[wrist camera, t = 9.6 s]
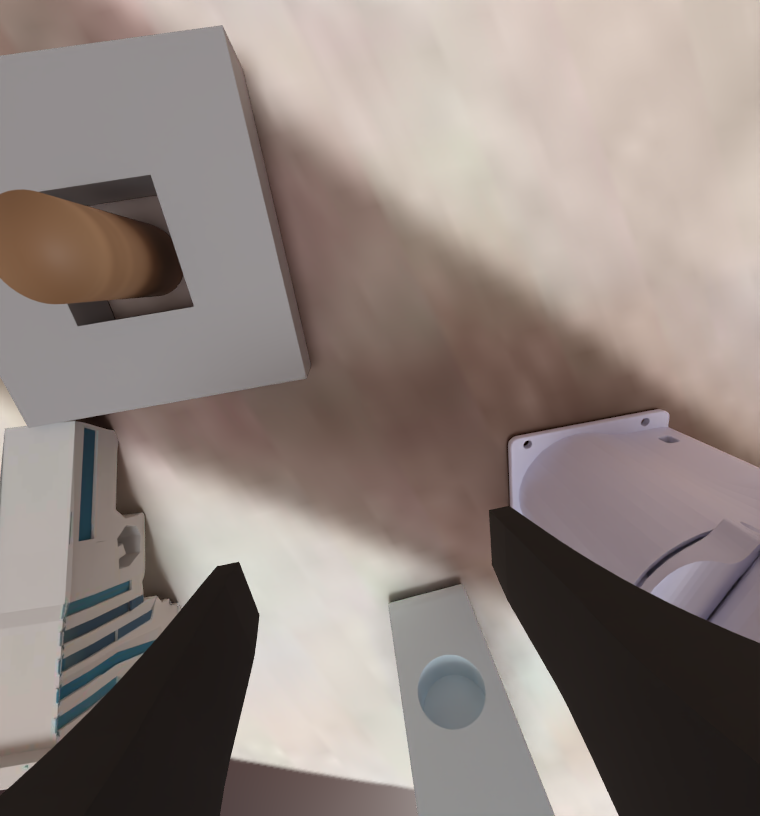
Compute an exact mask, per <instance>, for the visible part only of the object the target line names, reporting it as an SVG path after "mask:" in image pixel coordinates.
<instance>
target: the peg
mask: <svg viewBox="0 0 760 816" xmlns="http://www.w3.org/2000/svg"><path fill="white" fill-rule="evenodd" d="M182 276H183V272H182V268H181V265H180V262H179V259H178V256H177V253H176V250H175V247H174V244H173V241H172V238H171V237H170V236H169V235H168V234H167V233H165V232H164V231H163V230H161V229H159V228H158V227H155V226H153V225H150V224H147V223H143V222H140V221H136V220H133V219H129V218H126V217H123V216H119V215H116V214H112V213H109V212H105V211H102V210H99V209H95V208H92V207H88V206H85V205H82V204H78V203H75V202H71V201H68V200H64V199H61V198H58V197H54V196H51V195H47V194H44V193H40V192H36V191H32V190H25V189H22V190H11V191H7V192H4V193H1V194H0V278H1V279H2V280H3V281H4V282H5V283H6V284H7V285H8V286H9V287H10V288H12V289H13V290H15V291H16V292H18V293H19V294H21V295H23V296H25V297H27V298H29V299H32V300H34V301H37V302H41V303H46V304H69V303H81V302H93V301H105V300H117V299H128V298H140V297H152V296H161V295H165V294H167V293H170V292H171V291H173V290H174V289H175V288H176V287H177V286H178V284H179V283H180V281H181V279H182Z"/></svg>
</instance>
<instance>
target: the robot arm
mask: <svg viewBox="0 0 760 816" xmlns="http://www.w3.org/2000/svg"><path fill="white" fill-rule="evenodd" d="M643 419H644V421H643V422H642V423H641V421H642V420H643ZM668 423H669V413H668V412H667V411H664V410H662V409H656V410H650V411H645V412H640V413H635V414H629V415H624V416H619V417H613V418H608V419H603V420H598V421H592V422H587V423H582V424H577V425H571V426H566V427H561V428H555V429H550V430H545V431H540V432H534V433H529V434H524V435H519V436H515V437H513V438H511V439H510V441H509V443H508V458H509V488H510V506H507V507H502V508H498V509H493V510H489V517H490V535H491V553H492V566H493V568H494V570H495V573H496V575H497V577H498V580H499V582H500V584H501V587H502V589H503V591H504V593H505V595H506V598H507V600H508V602H509V603H510V605H511V607H512V609H513V611H514V612H515V614H516V616H517V618H518V619H519V621H520V623H521V625H522V626H523V628H524V630H525V631H526V633H527V635H528V637H529V638H530V640H531V642H532V644H533V645H534V647H535V649H536V650H537V652H538V654H539V656H540V657H541V659H542V661H543V663H544V664H545V666H546V668H547V670H548V671H549V673H550V675H551V676H552V678H553V680H554V682H555V683H556V685H557V687H558V689H559V691H560V693H561V695H562V696H563V698H564V700H565V702H566V704H567V706H568V708H569V710H570V712H571V714H572V716H573V718H574V721H575V723H576V725H577V727H578V729H579V731H580V733H581V735H582V737H583V739H584V742H585V744H586V746H587V748H588V750H589V752H590V754H591V756H592V758H593V761H594V763H595V765H596V767H597V769H598V771H599V774H600V776H601V778H602V780H603V782H604V784H605V787H606V789H607V791H608V793H609V795H610V797H611V800H612V802H613V804H614V806H615V808H616V811H617V813H618V815H619V816H760V468H759V467H757V466H754V465H752V464H750V463H748V462H745V461H743V460H741V459H739V458H736V457H734V456H732V455H730V454H728V453H725V452H723V451H721V450H719V449H716V448H714V447H712V446H710V445H707V444H705V443H703V442H701V441H699V440H696V439H694V438H692V437H690V436H687V435H685V434H683V433H681V432H678V431H676V430H674V429H672V428H669V427H668ZM525 441H529V443H528V444H527V445H525V446H523V445H524V443H525ZM258 623H259V613H258V610H257V607H256V605H255V602H254V600H253V597H252V594H251V592H250V589H249V587H248V584H247V581H246V579H245V576H244V574H243V571H242V568H241V566H240V563H239V562H236V563H231V564H227V565H222V566H217V567H216V568H215V569H214V571H213V572H212V573H211V574H210V575H209V576H208V578H207V579H206V580H205V581H204V582H203V584H202V585H201V586H200V587H199V588H198V590H197V591H196V592H195V593H194V595H193V596H192V597H191V598H190V599H189V601H188V602H187V603H186V604H185V606H184V607H183V608H182V609H181V610H180V612H179V613H178V614H177V615H176V616H175V617H174V619H173V620H172V621H171V622H170V623H169V625H168V626H167V627H166V628H165V629H164V631H163V632H162V633H161V634H160V635H159V637H158V638H157V639H156V640H155V641H154V642H153V643H152V644H151V646H150V647H149V648H148V649H147V650H146V651H145V652H144V653H143V655H142V656H141V657H140V658H139V659H138V660H137V661H136V662H135V663H134V665H133V666H132V667H131V668H130V669H129V670H128V671H127V672H126V673H125V675H124V676H123V677H122V678H121V679H120V680H119V681H118V682H117V683H116V685H115V686H114V687H113V688H112V689H111V690H110V691H109V692H108V693H107V694H106V695H105V696H104V697H103V698H102V699H101V700H100V701H99V702H98V703H97V704H96V705H95V706H94V707H93V708H92V709H91V710H90V711H89V712H88V713H87V714H86V715H85V716H84V717H83V718H82V719H81V720H80V721H79V722H78V723H77V724H76V725H75V726H74V727H73V728H72V729H71V730H70V731H69V732H68V733H67V734H66V735H65V736H64V737H63V738H62V739H61V740H60V741H59V742H58V743H57V744H56V745H55V746H54V747H53V748H52V749H51V750H50V751H48V752H47V753H46V754H45V755H44V756H43V757H42V758H41V759H40V760H39V761H38V762H36V763H35V764H34V765H33V766H32V767H31V768H30V769H29V770H28V771H27V772H26V773H24V774H23V775H22V776H21V777H20V778H19V779H18V780H17V781H16V782H15V783H14V784H12V785H11V786H10V787H9V788H8V789H7V790H6V791H5V792H4V793H3V794H2V795H0V816H220V811H221V804H222V798H223V791H224V786H225V781H226V776H227V771H228V766H229V761H230V757H231V753H232V749H233V745H234V740H235V736H236V732H237V728H238V724H239V719H240V715H241V711H242V707H243V703H244V699H245V694H246V690H247V686H248V682H249V677H250V673H251V669H252V664H253V660H254V655H255V648H256V641H257V632H258Z"/></svg>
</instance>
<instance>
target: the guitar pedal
mask: <svg viewBox="0 0 760 816" xmlns="http://www.w3.org/2000/svg"><path fill="white" fill-rule="evenodd" d="M389 614H390V621H391V628H392V635H393V642H394V649H395V656H396V663H397V670H398V677H399V685H400V692H401V699H402V706H403V713H404V720H405V727H406V734H407V741H408V748H409V755H410V762H411V769H412V777H413V784H414V791H415V798H416V804H417V812H418V816H555V815H554V812H553V810H552V807H551V804H550V802H549V799H548V797H547V794H546V792H545V789H544V787H543V784H542V782H541V779H540V777H539V774H538V772H537V769H536V767H535V764H534V762H533V759H532V757H531V754H530V752H529V749H528V747H527V744H526V742H525V739H524V737H523V734H522V731H521V729H520V726H519V724H518V721H517V719H516V716H515V714H514V711H513V709H512V706H511V704H510V701H509V699H508V696H507V694H506V691H505V689H504V686H503V684H502V681H501V679H500V676H499V674H498V671H497V669H496V666H495V664H494V661H493V659H492V656H491V653H490V651H489V648H488V646H487V643H486V641H485V638H484V636H483V633H482V631H481V628H480V626H479V623H478V621H477V618H476V616H475V613H474V611H473V608H472V606H471V603H470V601H469V598H468V596H467V593H466V591H465V588H464V586H463V585H462V584H459V585H455V586H451V587H447V588H444V589H440V590H436V591H432V592H429V593H425V594H421V595H417V596H413V597H410V598H406V599H402V600H398V601H395V602H391V603H389Z"/></svg>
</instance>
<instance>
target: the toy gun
mask: <svg viewBox="0 0 760 816" xmlns="http://www.w3.org/2000/svg"><path fill="white" fill-rule="evenodd" d="M118 443H119V441H118V439H117V436H116V433H115V431H114V430H108V429H104V428H101V427H97V426H94V425H91V424H87V423H84V422H79V421H69V422H60V423H54V424H49V425H43V426H37V427H32V428H28V426H24V427H15V428H6V429H5V435H4V445H3V455H2V465H1V476H0V790H3V789H8V788H9V787H10V786H11V785H12V784H14V783H15V782H16V781H17V780H18V779H19V778H20V777H21V776H22V775H23V774H24V773H26V772H27V771H28V770H29V769H30V768H31V767H32V766H33V765H34V764H35V763H36V762H38V761H39V760H40V759H41V758H42V757H43V756H44V755H45V754H46V753H47V752H48V751H50V750H51V749H52V748H53V747H54V746H55V745H56V744H57V743H58V742H59V741H60V740H61V739H62V738H63V737H64V736H65V735H66V734H67V733H68V732H69V731H70V730H71V729H72V728H73V727H74V726H75V725H76V724H77V723H78V722H79V721H80V720H81V719H82V718H83V717H84V716H85V715H86V714H87V713H88V712H89V711H90V710H91V709H92V708H93V707H94V706H95V705H96V704H97V703H98V702H99V701H100V700H101V699H102V698H103V697H104V696H105V695H106V694H107V693H108V692H109V691H110V690H111V689H112V688H113V687H114V686H115V685H116V683H117V682H118V681H119V680H120V679H121V678H122V677H123V676H124V675H125V673H126V672H127V671H128V670H129V669H130V668H131V667H132V666H133V665H134V663H135V662H136V661H137V660H138V659H139V658H140V657H141V656H142V655H143V653H144V652H145V651H146V650H147V649H148V648H149V647H150V646H151V644H152V643H153V642H154V641H155V640H156V639H157V638H158V637H159V635H160V634H161V633H162V632H163V631H164V629H165V628H166V627H167V626H168V625H169V623H170V622H171V621H172V620H173V619H174V617H175V616H176V615H177V614H178V613H179V612H180V610H181V607H180V606H177V602H175V603H171V601H170V599H163V600H160V599H159V598H158V597H157V596H150V597H144V595H143V584H142V581H143V578H144V574H145V515H144V514H143V512H142V513H134V514H126V515H121V514H120V513H119V512H118V511H117V510H116V482H117V449H118Z"/></svg>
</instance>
